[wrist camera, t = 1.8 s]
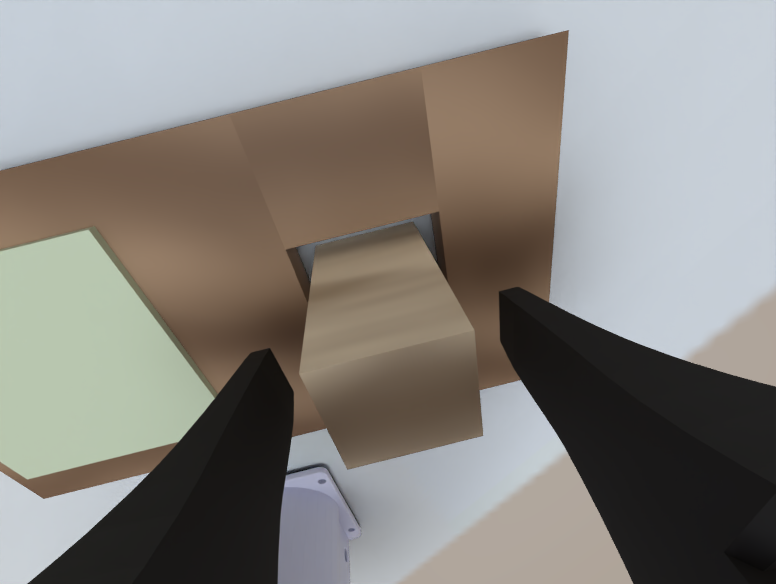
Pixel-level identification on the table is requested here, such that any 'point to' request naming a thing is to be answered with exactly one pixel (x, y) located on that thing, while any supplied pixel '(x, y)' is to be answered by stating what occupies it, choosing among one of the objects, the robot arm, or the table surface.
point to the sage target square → (86, 360)
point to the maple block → (388, 349)
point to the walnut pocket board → (314, 209)
